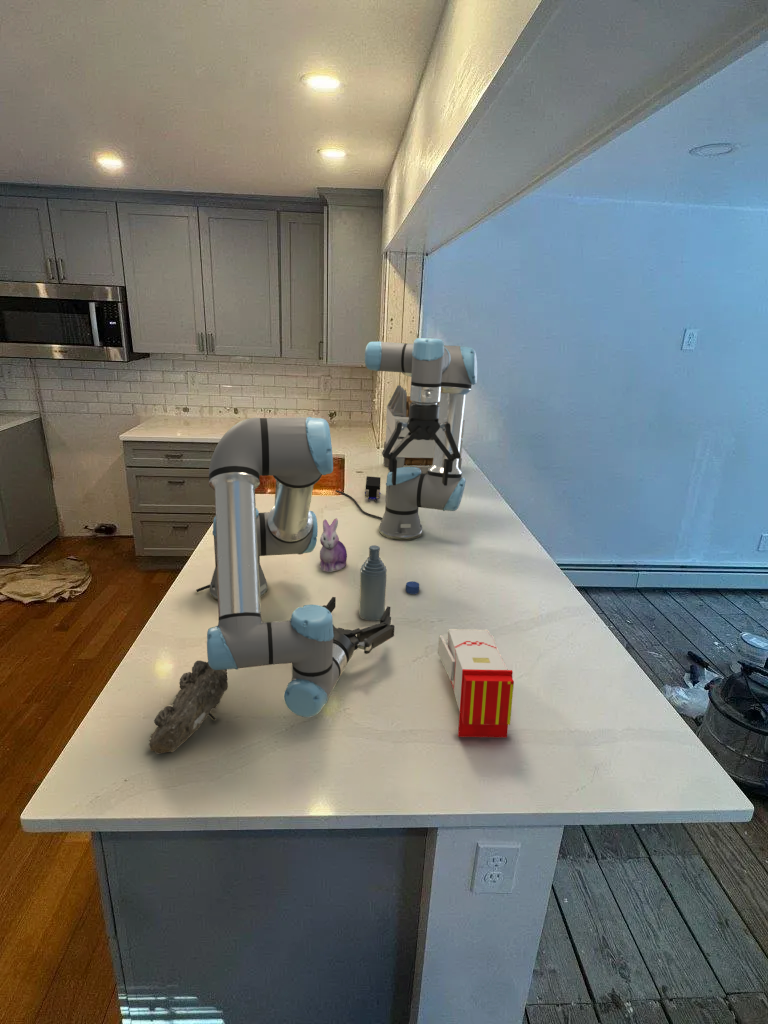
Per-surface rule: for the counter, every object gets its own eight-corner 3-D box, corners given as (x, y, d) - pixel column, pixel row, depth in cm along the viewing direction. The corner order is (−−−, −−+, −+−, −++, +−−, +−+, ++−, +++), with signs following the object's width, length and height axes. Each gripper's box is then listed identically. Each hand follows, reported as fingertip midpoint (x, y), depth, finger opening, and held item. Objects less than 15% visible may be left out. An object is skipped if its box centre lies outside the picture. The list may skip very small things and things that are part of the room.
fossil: (177, 661, 117) (228, 629, 112) (210, 691, 120) (261, 661, 115) (124, 747, 97) (183, 713, 92) (164, 781, 100) (223, 749, 95)
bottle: (376, 623, 143) (379, 554, 136) (354, 615, 146) (356, 548, 139) (389, 612, 148) (392, 545, 142) (367, 605, 151) (369, 540, 145)
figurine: (324, 575, 166) (325, 528, 161) (312, 561, 175) (312, 516, 170) (353, 570, 170) (355, 523, 165) (340, 557, 179) (341, 512, 174)
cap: (418, 588, 162) (419, 581, 161) (419, 594, 158) (419, 587, 157) (405, 587, 162) (405, 580, 161) (405, 594, 158) (406, 587, 157)
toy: (488, 613, 130) (523, 677, 101) (484, 667, 133) (517, 744, 104) (435, 612, 130) (455, 676, 101) (432, 666, 133) (451, 743, 103)
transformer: (382, 463, 289) (386, 382, 275) (445, 464, 293) (451, 384, 279) (390, 482, 257) (394, 392, 243) (460, 483, 261) (468, 394, 247)
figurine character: (380, 506, 230) (380, 491, 243) (381, 489, 227) (381, 475, 240) (364, 506, 230) (364, 491, 243) (364, 489, 226) (365, 474, 240)
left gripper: (274, 660, 120) (312, 611, 139) (388, 683, 114) (411, 629, 133) (273, 629, 117) (312, 584, 136) (390, 652, 111) (413, 601, 131)
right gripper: (376, 404, 137) (373, 487, 144) (477, 406, 140) (469, 488, 147) (373, 399, 144) (370, 479, 151) (469, 401, 147) (462, 480, 154)
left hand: (361, 606), depth 135 cm, fingers open, 13 cm apart
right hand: (419, 484), depth 149 cm, fingers open, 13 cm apart
